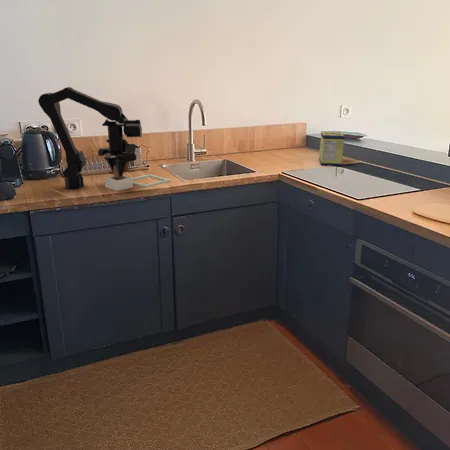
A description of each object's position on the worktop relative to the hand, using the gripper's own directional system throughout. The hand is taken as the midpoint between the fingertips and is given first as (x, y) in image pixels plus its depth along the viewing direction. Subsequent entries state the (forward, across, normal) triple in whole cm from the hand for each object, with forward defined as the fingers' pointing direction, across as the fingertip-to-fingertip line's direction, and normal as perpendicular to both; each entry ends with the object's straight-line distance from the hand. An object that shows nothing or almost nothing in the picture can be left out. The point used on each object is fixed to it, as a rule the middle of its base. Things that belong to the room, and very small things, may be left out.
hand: (118, 175), depth 194 cm
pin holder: (+6, 0, 0) cm, 6 cm away
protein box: (+6, -35, -108) cm, 114 cm away
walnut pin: (+5, 0, 0) cm, 5 cm away
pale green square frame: (+6, -1, -14) cm, 15 cm away
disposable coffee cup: (+6, +25, -19) cm, 32 cm away
